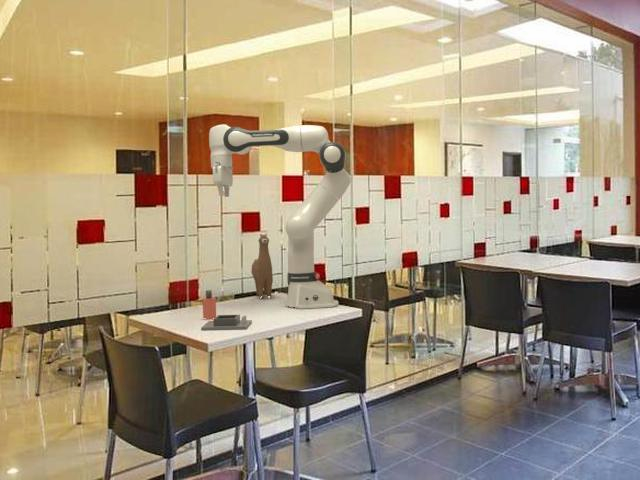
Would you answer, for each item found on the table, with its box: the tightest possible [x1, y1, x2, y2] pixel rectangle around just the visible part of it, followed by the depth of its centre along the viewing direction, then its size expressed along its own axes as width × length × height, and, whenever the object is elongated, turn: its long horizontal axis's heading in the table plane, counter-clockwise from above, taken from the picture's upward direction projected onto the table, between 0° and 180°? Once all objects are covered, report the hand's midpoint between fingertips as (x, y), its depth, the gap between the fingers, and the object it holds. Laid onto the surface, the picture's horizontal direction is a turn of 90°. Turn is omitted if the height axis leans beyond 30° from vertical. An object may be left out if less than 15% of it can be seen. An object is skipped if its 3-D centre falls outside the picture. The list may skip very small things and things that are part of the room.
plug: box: [201, 289, 217, 320], centre depth 238 cm, size 4×4×11 cm
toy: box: [250, 233, 274, 298], centre depth 287 cm, size 9×20×30 cm, turn 14°
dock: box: [200, 314, 253, 331], centre depth 221 cm, size 16×12×4 cm
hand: (224, 196), depth 260 cm, fingers open, 8 cm apart
